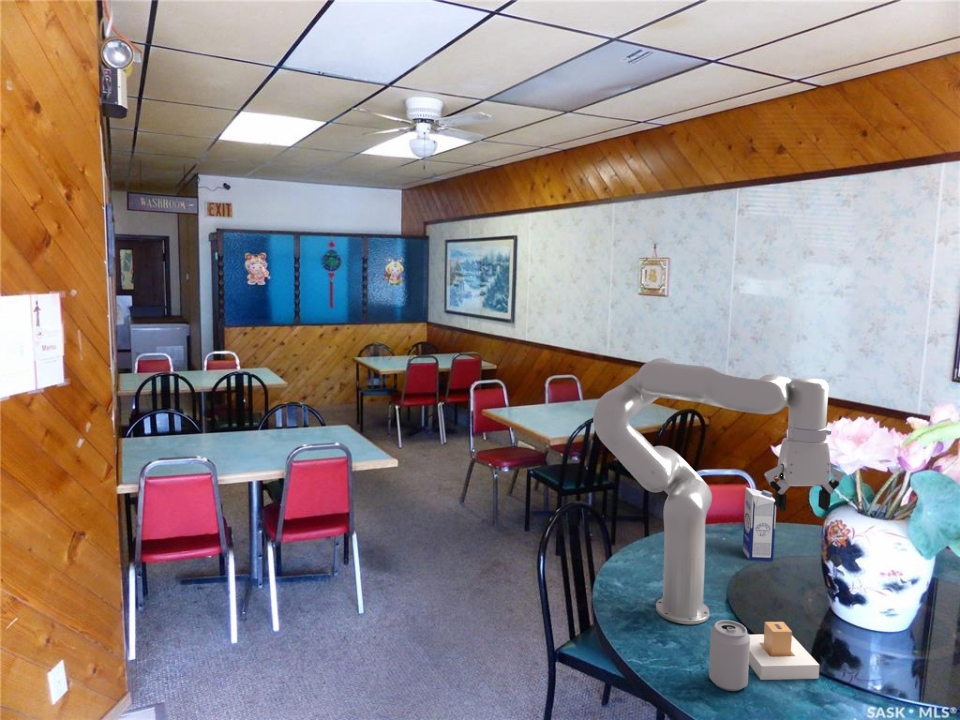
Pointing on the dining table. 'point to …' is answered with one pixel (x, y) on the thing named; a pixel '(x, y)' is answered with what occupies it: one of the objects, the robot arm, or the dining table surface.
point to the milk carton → (759, 525)
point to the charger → (777, 639)
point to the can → (729, 655)
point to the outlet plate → (781, 662)
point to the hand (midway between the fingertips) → (802, 509)
